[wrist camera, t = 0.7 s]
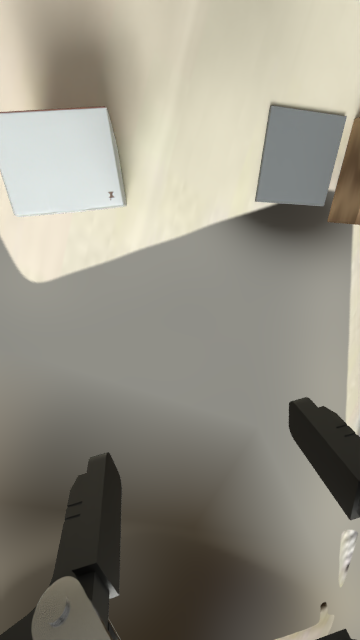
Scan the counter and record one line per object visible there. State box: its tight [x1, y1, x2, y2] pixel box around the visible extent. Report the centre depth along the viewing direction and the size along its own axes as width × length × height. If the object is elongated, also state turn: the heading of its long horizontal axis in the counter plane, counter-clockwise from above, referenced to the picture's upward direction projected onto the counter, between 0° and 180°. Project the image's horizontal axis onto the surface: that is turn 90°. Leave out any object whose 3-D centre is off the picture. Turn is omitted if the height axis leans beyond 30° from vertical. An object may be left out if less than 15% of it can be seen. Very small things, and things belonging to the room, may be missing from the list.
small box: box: [0, 106, 127, 217], centre depth 24 cm, size 8×6×13 cm
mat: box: [255, 106, 347, 206], centre depth 33 cm, size 10×10×1 cm
